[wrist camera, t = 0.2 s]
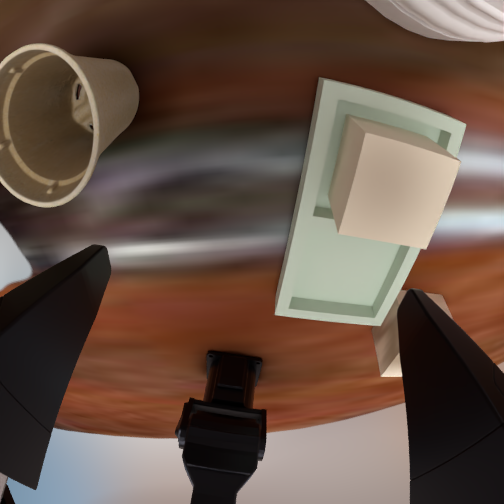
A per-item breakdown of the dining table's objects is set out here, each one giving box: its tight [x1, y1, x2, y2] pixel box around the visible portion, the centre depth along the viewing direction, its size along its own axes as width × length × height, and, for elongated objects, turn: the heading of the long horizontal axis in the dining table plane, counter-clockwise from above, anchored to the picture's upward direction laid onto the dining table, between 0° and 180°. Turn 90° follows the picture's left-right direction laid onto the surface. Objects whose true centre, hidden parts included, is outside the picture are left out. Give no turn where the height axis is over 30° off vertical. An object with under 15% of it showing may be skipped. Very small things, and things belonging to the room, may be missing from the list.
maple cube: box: [372, 290, 454, 377], centre depth 26 cm, size 6×6×6 cm
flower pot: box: [0, 43, 139, 207], centre depth 15 cm, size 9×9×9 cm
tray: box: [275, 77, 466, 326], centre depth 20 cm, size 19×10×6 cm, turn 174°
